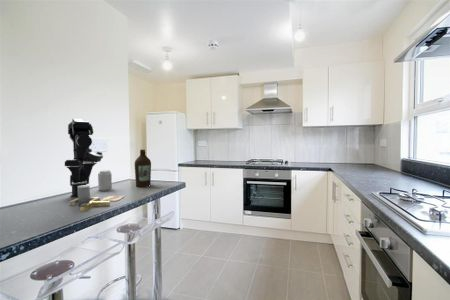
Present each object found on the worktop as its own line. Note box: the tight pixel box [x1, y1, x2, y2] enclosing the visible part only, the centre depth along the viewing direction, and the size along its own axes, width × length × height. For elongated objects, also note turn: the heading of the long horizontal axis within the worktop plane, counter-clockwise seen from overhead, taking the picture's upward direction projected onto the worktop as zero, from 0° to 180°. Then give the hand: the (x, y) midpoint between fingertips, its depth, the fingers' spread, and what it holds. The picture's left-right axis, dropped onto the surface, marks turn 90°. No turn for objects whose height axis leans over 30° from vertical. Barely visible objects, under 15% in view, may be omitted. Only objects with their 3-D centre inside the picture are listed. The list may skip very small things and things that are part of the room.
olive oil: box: [134, 149, 152, 188], centre depth 151 cm, size 11×11×25 cm
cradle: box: [69, 196, 101, 206], centre depth 111 cm, size 11×8×2 cm
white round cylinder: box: [77, 184, 91, 207], centre depth 109 cm, size 5×5×9 cm
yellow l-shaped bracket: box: [79, 201, 111, 212], centre depth 103 cm, size 9×9×3 cm
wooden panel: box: [100, 195, 125, 202], centre depth 119 cm, size 9×9×1 cm
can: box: [97, 169, 113, 192], centre depth 141 cm, size 8×8×12 cm
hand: (83, 178), depth 109 cm, fingers open, 9 cm apart
